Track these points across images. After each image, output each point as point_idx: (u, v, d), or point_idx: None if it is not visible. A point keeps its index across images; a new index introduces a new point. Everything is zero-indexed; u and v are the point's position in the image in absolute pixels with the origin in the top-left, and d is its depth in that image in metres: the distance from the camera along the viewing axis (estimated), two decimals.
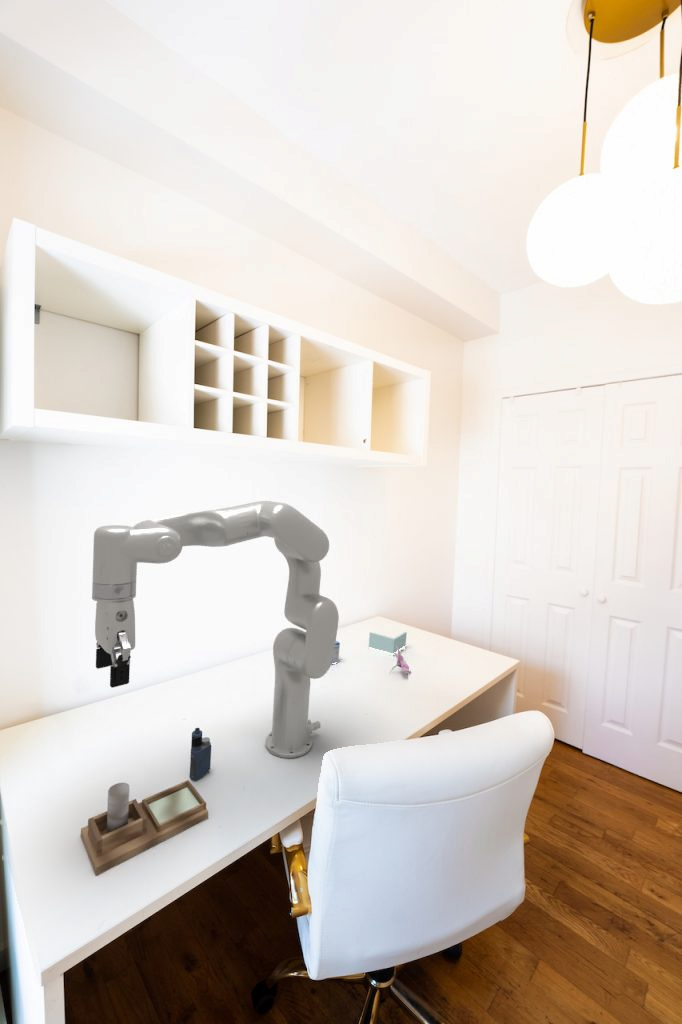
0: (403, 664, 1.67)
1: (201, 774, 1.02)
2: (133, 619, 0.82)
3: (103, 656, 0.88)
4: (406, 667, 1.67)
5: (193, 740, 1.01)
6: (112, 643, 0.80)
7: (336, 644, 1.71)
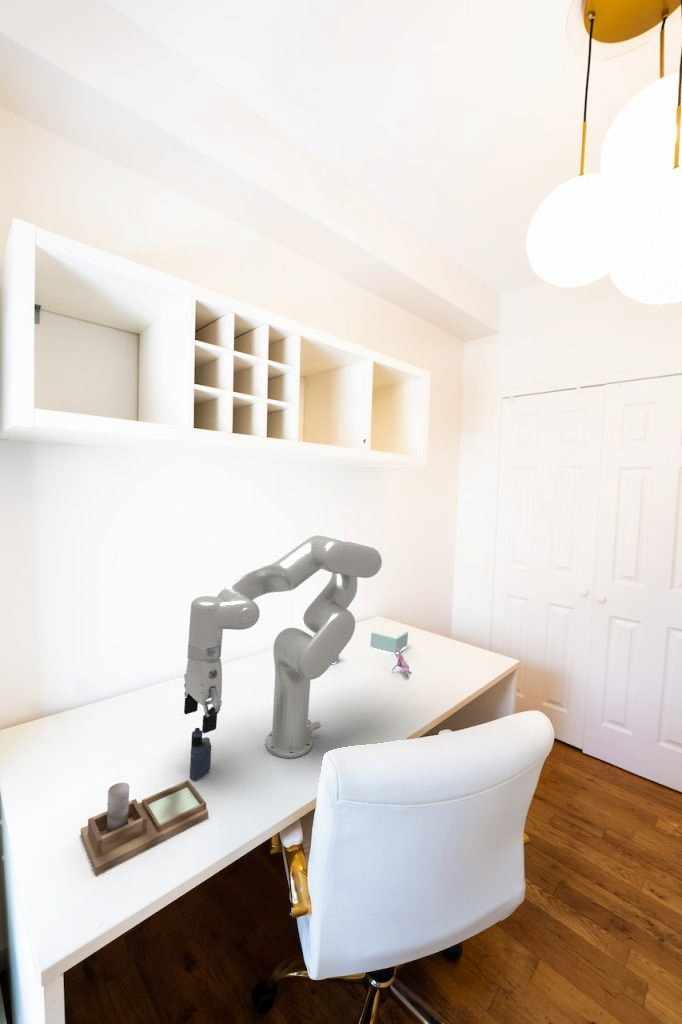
0: (403, 664, 1.67)
1: (201, 774, 1.02)
2: (221, 676, 0.99)
3: (190, 704, 1.05)
4: (406, 667, 1.67)
5: (193, 740, 1.01)
6: (205, 697, 0.97)
7: None
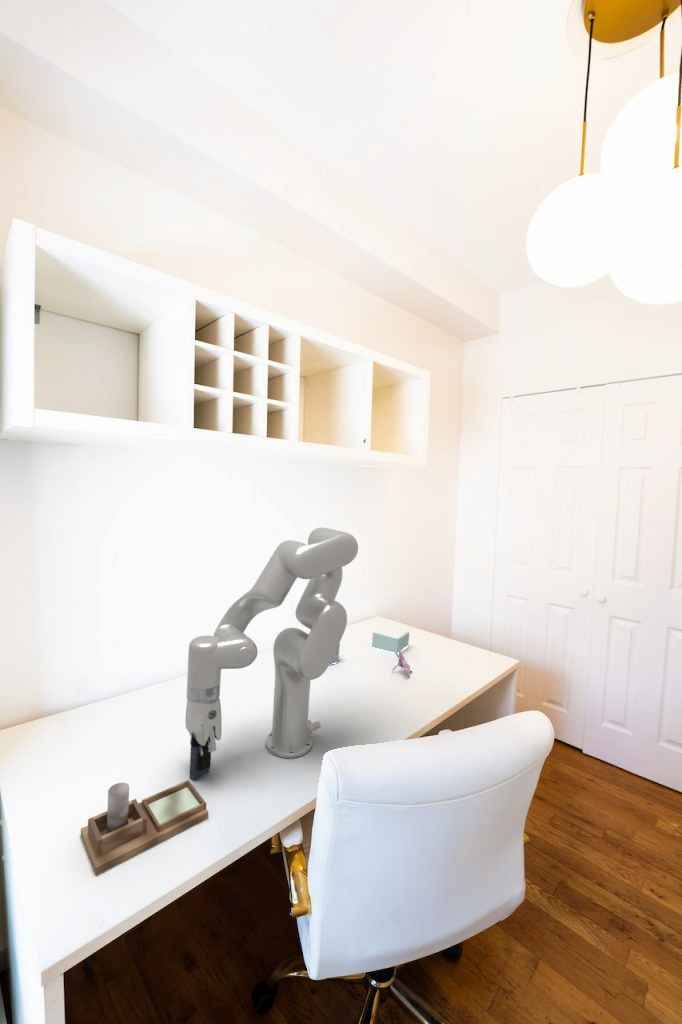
0: (404, 664, 1.67)
1: (201, 774, 1.02)
2: (220, 716, 1.00)
3: None
4: (407, 667, 1.67)
5: (193, 740, 1.00)
6: None
7: None
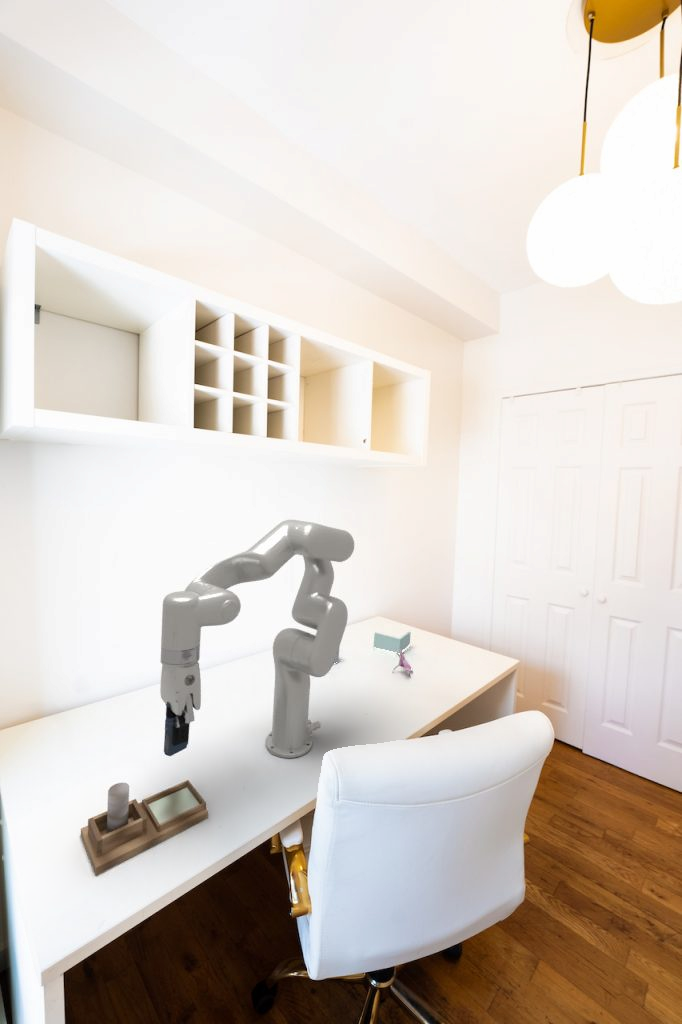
0: (405, 664, 1.68)
1: (177, 749, 0.89)
2: (199, 682, 0.87)
3: None
4: (408, 667, 1.67)
5: (167, 710, 0.87)
6: None
7: None
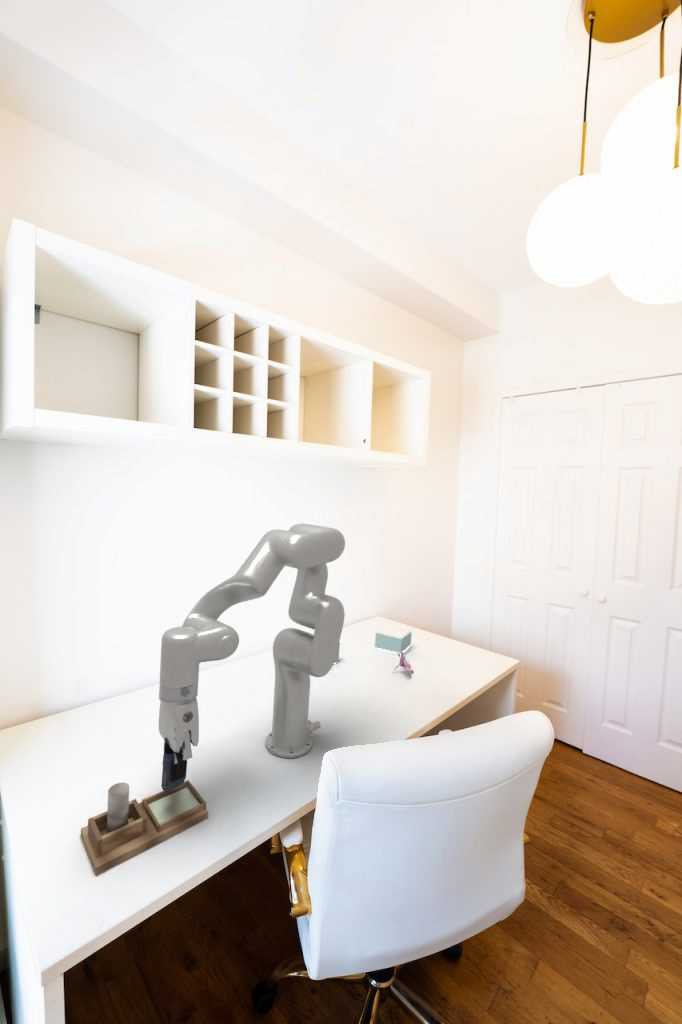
0: (405, 664, 1.68)
1: (174, 784, 0.90)
2: (197, 718, 0.88)
3: None
4: (409, 667, 1.67)
5: (165, 746, 0.88)
6: None
7: None
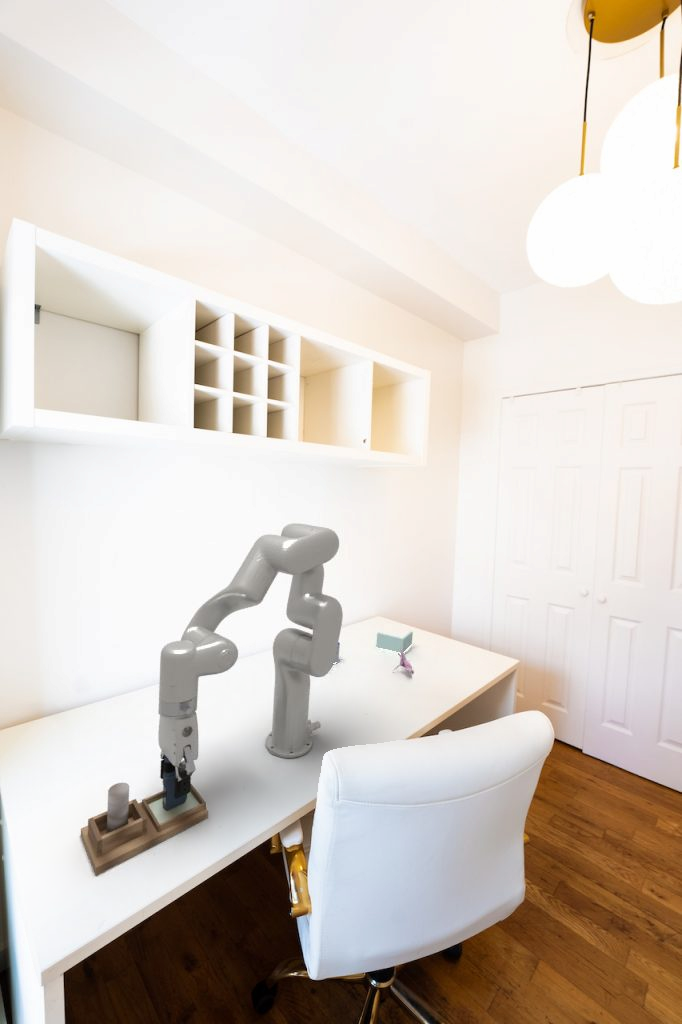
0: (406, 664, 1.68)
1: (174, 804, 0.90)
2: (197, 732, 0.88)
3: None
4: (409, 666, 1.67)
5: (164, 765, 0.89)
6: (178, 761, 0.86)
7: None
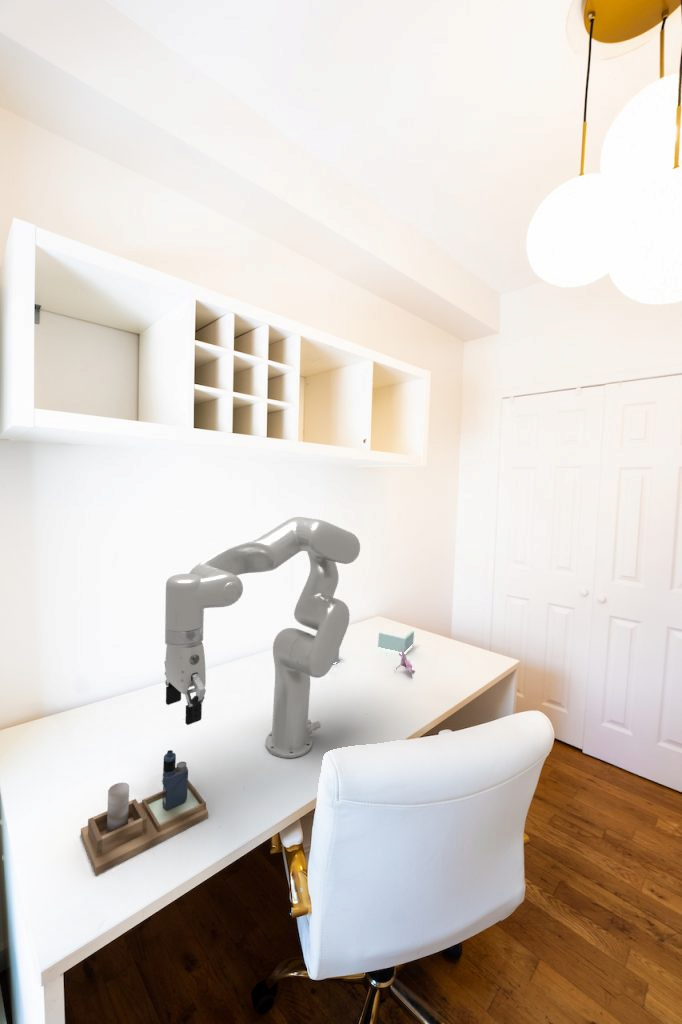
0: (407, 663, 1.68)
1: (174, 804, 0.90)
2: (204, 661, 0.89)
3: (172, 693, 0.95)
4: (410, 666, 1.68)
5: (164, 764, 0.89)
6: (187, 685, 0.87)
7: None
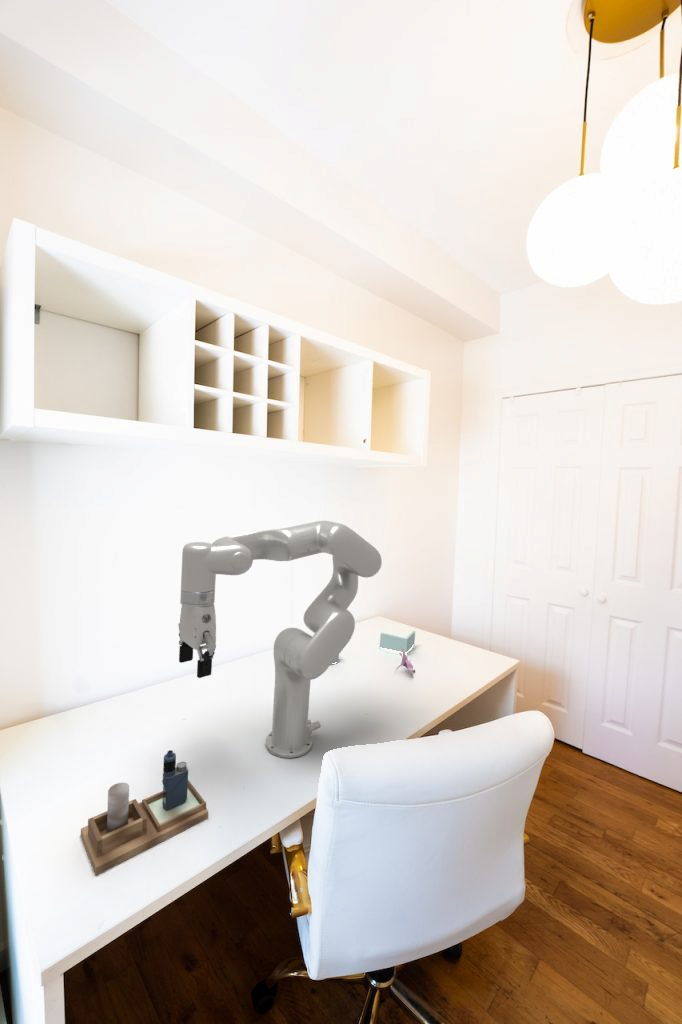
0: (407, 663, 1.68)
1: (174, 804, 0.90)
2: (215, 621, 0.98)
3: (185, 652, 1.04)
4: (410, 666, 1.68)
5: (164, 764, 0.89)
6: (199, 641, 0.96)
7: None
